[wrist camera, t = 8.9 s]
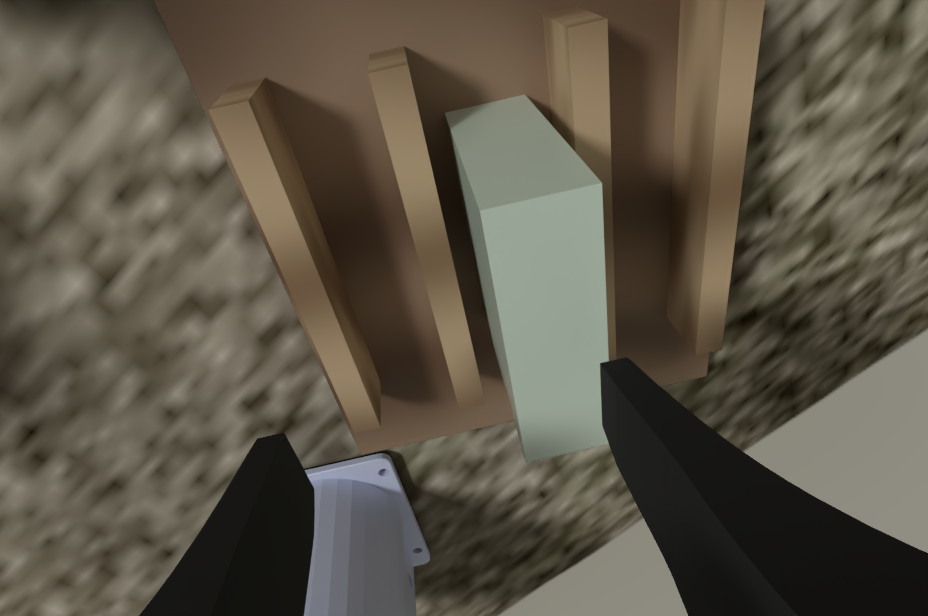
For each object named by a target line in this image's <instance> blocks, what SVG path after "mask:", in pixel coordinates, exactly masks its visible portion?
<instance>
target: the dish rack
mask: <svg viewBox="0 0 928 616" xmlns="http://www.w3.org/2000/svg"><path fill="white" fill-rule="evenodd" d="M154 3H155V5H156V7H157V9H158V11H159V14H160V16H161V18H162V20H163V22H164V25H165V27H166V29H167V31H168V33H169V35H170V38H171V40H172V42H173V44H174V46H175V49H176V51H177V53H178V55H179V57H180V60H181V62H182V64H183V66H184V68H185V70H186V73H187V75H188V77H189V79H190V81H191V84H192V86H193V88H194V90H195V92H196V95H197V97H198V99H199V101H200V103H201V106H202V108H203V110H204V112H205V114H206V116H207V119H208V121H209V123H210V125H211V127H212V130H213V132H214V134H215V136H216V138H217V141H218V143H219V145H220V147H221V149H222V151H223V154H224V156H225V158H226V160H227V162H228V165H229V167H230V169H231V171H232V173H233V176H234V178H235V180H236V182H237V184H238V187H239V189H240V191H241V193H242V195H243V197H244V200H245V202H246V204H247V206H248V208H249V211H250V213H251V215H252V217H253V219H254V222H255V224H256V226H257V228H258V230H259V232H260V235H261V237H262V239H263V241H264V243H265V246H266V248H267V250H268V252H269V254H270V257H271V259H272V261H273V263H274V265H275V268H276V270H277V272H278V274H279V276H280V278H281V281H282V283H283V285H284V287H285V289H286V292H287V294H288V296H289V298H290V300H291V303H292V305H293V307H294V309H295V311H296V313H297V316H298V318H299V320H300V322H301V324H302V327H303V329H304V331H305V333H306V335H307V338H308V340H309V342H310V344H311V346H312V349H313V351H314V353H315V355H316V357H317V359H318V362H319V364H320V366H321V368H322V370H323V373H324V375H325V377H326V379H327V381H328V384H329V386H330V388H331V390H332V392H333V394H334V397H335V399H336V401H337V403H338V405H339V408H340V410H341V412H342V414H343V416H344V419H345V421H346V423H347V425H348V427H349V430H350V432H351V434H352V436H353V438H354V440H355V443H356V445H357V447H358V449H359V451H360V454H361V455H363V454H368V453H372V452H377V451H381V450H385V449H390V448H394V447H399V446H403V445H407V444H412V443H416V442H420V441H425V440H429V439H434V438H438V437H442V436H447V435H451V434H456V433H460V432H464V431H469V430H473V429H477V428H482V427H486V426H491V425H495V424H499V423H504V422H508V421H513V420H514V418H513V414H512V410H511V407H510V403H509V400H508V396H507V392H506V389H505V385H504V382H503V378H502V374H501V371H500V367H499V363H498V360H497V356H496V353H495V349H494V345H493V342H492V338H491V335H490V331H489V327H488V324H487V320H486V316H485V311H484V306H483V301H482V296H481V291H480V286H479V281H478V276H477V271H476V266H475V261H474V256H473V251H472V246H471V241H470V236H469V232H468V227H467V222H466V217H465V212H464V207H463V202H462V197H461V192H460V187H459V182H458V177H457V172H456V167H455V162H454V157H453V152H452V147H451V142H450V137H449V132H448V128H447V123H446V118H445V113H446V112H451V111H455V110H459V109H464V108H468V107H472V106H477V105H481V104H486V103H490V102H494V101H499V100H503V99H507V98H512V97H516V96H521V95H526V96H527V97H528V99H529V100H530V101H531V102H532V103H533V104H534V105H535V107H536V108H537V109H538V110H539V111H540V112H541V113H542V115H543V116H544V117H545V118H546V119H547V120H548V121H549V123H550V124H551V125H552V126H553V127H554V128H555V129H556V131H557V132H558V133H559V134H560V135H561V136H562V138H563V139H564V140H565V141H566V142H567V143H568V144H569V146H570V147H571V148H572V149H573V150H574V151H575V152H576V154H577V155H578V156H579V157H580V158H581V159H582V160H583V162H584V163H585V164H586V165H587V166H588V167H589V168H590V170H591V171H592V172H593V173H594V174H595V175H596V176H597V178H598V179H599V180H600V181H601V182H602V194H603V221H604V248H605V275H606V302H607V329H608V356H609V361H612V360H616V359H621V358H625V357H627V358H629V359H630V360H632V361H633V362H634V363H635V364H636V365H637V366H638V367H639V368H640V369H641V370H642V371H643V372H644V373H646V374H647V375H648V376H649V377H650V378H651V379H652V380H653V381H654V382H656V383H657V384H658V385H659V386H660V387H662V386H666V385H670V384H675V383H679V382H684V381H688V380H692V379H697V378H701V377H706V376H707V369H708V360H709V353H710V352H714V351H719V350H722V343H723V335H724V327H725V319H726V311H727V303H728V295H729V287H730V279H731V271H732V262H733V254H734V246H735V238H736V230H737V222H738V214H739V206H740V198H741V190H742V182H743V174H744V166H745V158H746V150H747V142H748V134H749V126H750V118H751V109H752V101H753V93H754V85H755V77H756V69H757V61H758V53H759V45H760V37H761V29H762V21H763V13H764V5H765V0H154Z"/></svg>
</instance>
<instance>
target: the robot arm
mask: <svg viewBox="0 0 928 616" xmlns="http://www.w3.org/2000/svg"><path fill="white" fill-rule="evenodd" d="M600 379H601V407H602V426H603V429H604V432H605V434H606V437H607V440H608V443H609V445H610V448H611V451H612V453H613V456H614V459H615V461H616V464H617V466H618V468H619V470H620V472H621V474H622V476H623V478H624V480H625V482H626V484H627V486H628V488H629V490H630V492H631V494H632V496H633V498H634V500H635V502H636V504H637V506H638V508H639V510H640V512H641V514H642V516H643V517H644V519H645V521H646V523H647V525H648V527H649V529H650V531H651V533H652V535H653V537H654V539H655V540H656V543H657V545H658V547H659V548H660V551H661V552H662V554H663V556H664V559H665V561H666V563H667V565H668V567H669V569H670V571H671V574H672V576H673V578H674V581H675V583H676V586H677V588H678V591H679V593H680V596H681V598H682V601H683V603H684V606H685V608H686V611H687V613H688V616H928V553H926V552H924V551H921V550H919V549H917V548H915V547H912V546H910V545H908V544H906V543H904V542H902V541H900V540H898V539H896V538H894V537H891V536H889V535H887V534H885V533H883V532H881V531H879V530H877V529H874V528H872V527H870V526H868V525H866V524H864V523H863V522H861V521H859V520H857V519H855V518H853V517H851V516H849V515H848V514H846V513H844V512H842V511H840V510H838V509H836V508H834V507H832V506H831V505H829V504H827V503H825V502H823V501H821V500H819V499H817V498H816V497H814V496H812V495H810V494H808V493H807V492H805V491H803V490H802V489H800V488H799V487H797V486H795V485H793V484H792V483H790V482H788V481H787V480H785V479H784V478H782V477H780V476H779V475H777V474H776V473H774V472H772V471H771V470H769V469H768V468H766V467H764V466H763V465H762V464H760V463H758V462H757V461H756V460H754V459H753V458H751V457H750V456H748V455H747V454H745V453H744V452H742V451H741V450H740V449H738V448H737V447H735V446H734V445H733V444H731V443H730V442H728V441H727V440H726V439H724V438H723V437H722V436H720V435H719V434H718V433H716V432H715V431H714V430H712V429H711V428H710V427H708V426H707V425H706V424H705V423H703V422H702V421H701V420H700V419H698V418H697V417H696V416H695V415H693V414H692V413H691V412H690V411H688V410H687V409H686V408H685V407H683V406H682V405H681V404H680V403H679V402H677V401H676V400H675V399H674V398H673V397H671V396H670V395H669V394H668V393H667V392H666V391H665V390H663V389H662V388H661V387H660V386H659V385H658V384H657V383H656V382H654V381H653V380H652V379H651V378H650V377H649V376H648V375H647V374H646V373H644V372H643V371H642V370H641V369H640V368H639V367H638V366H637V365H636V364H635V363H634V362H633V361H632V360H630V359H629V358H627V357H625V358H621V359H616V360H612V361H607V362H603V363H600ZM382 469H384V470H382ZM429 560H430V552H429V550H428V547H427V545H426V542H425V540H424V537H423V535H422V533H421V530H420V528H419V525H418V523H417V520H416V518H415V515H414V513H413V511H412V508H411V506H410V503H409V501H408V498H407V496H406V493H405V491H404V489H403V486H402V484H401V481H400V479H399V476H398V474H397V471H396V469H395V467H394V464H393V462H392V459H391V457H390V456H389V455H387V454H384V453H378V454H374V455H369V456H365V457H361V458H356V459H352V460H348V461H343V462H339V463H334V464H330V465H326V466H321V467H317V468H312V469H308V470H304V469H303V467H302V465H301V463H300V461H299V460H298V458H297V456H296V454H295V452H294V450H293V448H292V447H291V445H290V443H289V441H288V439H287V437H286V435H285V434H284V433H281V434H276V435H272V436H267V437H263V438H258V439H257V440H256V442H255V443H254V445H253V446H252V448H251V449H250V451H249V453H248V454H247V456H246V458H245V459H244V461H243V463H242V464H241V466H240V468H239V469H238V471H237V473H236V474H235V476H234V478H233V479H232V481H231V483H230V484H229V486H228V488H227V489H226V491H225V493H224V494H223V496H222V498H221V499H220V501H219V502H218V504H217V506H216V507H215V509H214V510H213V512H212V513H211V515H210V517H209V518H208V520H207V521H206V523H205V525H204V526H203V528H202V529H201V531H200V532H199V534H198V535H197V537H196V538H195V540H194V541H193V543H192V544H191V546H190V547H189V549H188V550H187V551H186V553H185V554H184V556H183V557H182V559H181V560H180V562H179V563H178V565H177V566H176V567H175V569H174V570H173V572H172V573H171V575H170V576H169V577H168V579H167V580H166V581H165V583H164V584H163V585H162V587H161V588H160V590H159V591H158V592H157V594H156V595H155V596H154V597H153V599H152V600H151V601H150V603H149V604H148V605H147V606H146V608H145V609H144V610H143V611H142V613H141V614H140V615H139V616H416V602H415V584H414V566H419V565H423V564H426V563H427V562H429Z"/></svg>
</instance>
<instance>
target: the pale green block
mask: <svg viewBox="0 0 928 616" xmlns="http://www.w3.org/2000/svg"><path fill="white" fill-rule="evenodd" d="M445 118H446V123H447V128H448V132H449V137H450V142H451V147H452V152H453V157H454V162H455V167H456V172H457V177H458V182H459V187H460V192H461V197H462V202H463V207H464V212H465V217H466V222H467V227H468V232H469V236H470V241H471V246H472V251H473V256H474V261H475V266H476V271H477V276H478V281H479V286H480V291H481V296H482V301H483V306H484V311H485V316H486V320H487V324H488V327H489V331H490V335H491V338H492V342H493V345H494V349H495V353H496V356H497V360H498V363H499V367H500V371H501V374H502V378H503V382H504V385H505V389H506V392H507V396H508V400H509V403H510V407H511V410H512V414H513V418H514V421H515V425H516V428H517V432H518V436H519V439H520V443H521V446H522V450H523V454H524V457H525V461H526V463H527V462H531V461H536V460H540V459H545V458H549V457H553V456H558V455H562V454H567V453H571V452H575V451H580V450H584V449H589V448H593V447H597V446H602V445H606V444H609V443H608V440H607V437H606V434H605V432H604V429H603V426H602V407H601V379H600V363H603V362H607V361H609V356H608V329H607V302H606V275H605V248H604V221H603V194H602V182H601V181H600V180H599V179H598V178H597V176H596V175H595V174H594V173H593V172H592V171H591V170H590V168H589V167H588V166H587V165H586V164H585V163H584V162H583V160H582V159H581V158H580V157H579V156H578V155H577V154H576V152H575V151H574V150H573V149H572V148H571V147H570V146H569V144H568V143H567V142H566V141H565V140H564V139H563V138H562V136H561V135H560V134H559V133H558V132H557V131H556V129H555V128H554V127H553V126H552V125H551V124H550V123H549V121H548V120H547V119H546V118H545V117H544V116H543V115H542V113H541V112H540V111H539V110H538V109H537V108H536V107H535V105H534V104H533V103H532V102H531V101H530V100H529V99H528V97H527V96H526V95H521V96H516V97H512V98H507V99H503V100H499V101H494V102H490V103H486V104H481V105H477V106H472V107H468V108H464V109H459V110H455V111H451V112H446V113H445Z"/></svg>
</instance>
